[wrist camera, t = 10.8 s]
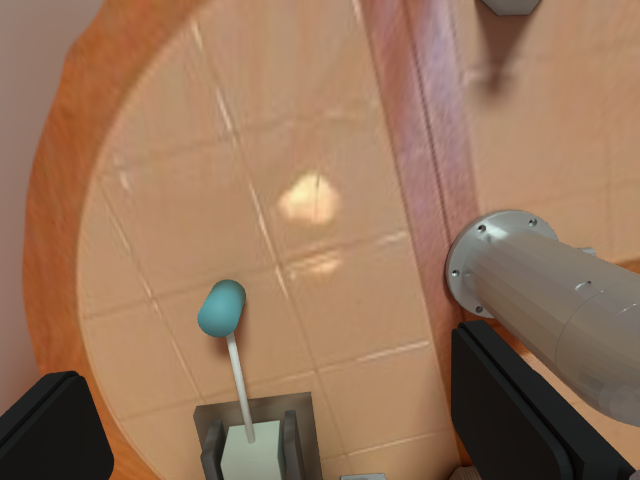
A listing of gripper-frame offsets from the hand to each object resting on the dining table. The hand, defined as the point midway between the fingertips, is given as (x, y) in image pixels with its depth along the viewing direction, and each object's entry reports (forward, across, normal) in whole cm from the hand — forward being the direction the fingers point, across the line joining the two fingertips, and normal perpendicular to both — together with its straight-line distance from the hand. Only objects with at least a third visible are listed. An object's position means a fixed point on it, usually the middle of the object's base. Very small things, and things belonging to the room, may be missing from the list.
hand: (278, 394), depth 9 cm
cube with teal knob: (+26, +8, +20) cm, 34 cm away
